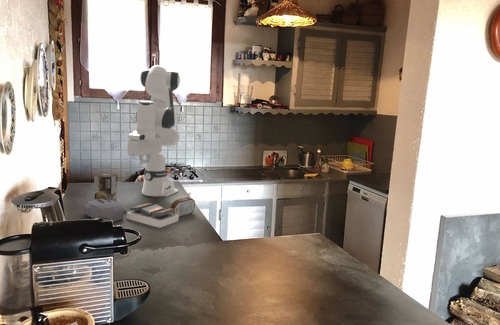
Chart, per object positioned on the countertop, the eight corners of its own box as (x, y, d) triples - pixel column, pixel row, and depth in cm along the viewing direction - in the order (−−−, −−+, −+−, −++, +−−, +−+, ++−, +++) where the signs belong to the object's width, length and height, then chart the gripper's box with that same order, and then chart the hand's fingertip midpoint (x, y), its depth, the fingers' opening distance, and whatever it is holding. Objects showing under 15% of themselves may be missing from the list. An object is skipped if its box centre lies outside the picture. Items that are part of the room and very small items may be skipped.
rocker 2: (156, 206, 195) (156, 203, 194) (163, 210, 193) (164, 207, 192) (141, 211, 186) (141, 208, 186) (149, 215, 184) (149, 212, 184)
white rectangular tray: (134, 209, 204) (134, 203, 204) (178, 220, 191) (178, 214, 191) (113, 215, 193) (114, 208, 192) (159, 227, 180) (159, 220, 179)
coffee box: (116, 205, 209) (117, 174, 206) (111, 208, 202) (111, 177, 200) (99, 203, 209) (100, 173, 207) (93, 207, 203) (93, 175, 200)
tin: (191, 211, 207) (192, 195, 206) (195, 213, 206) (196, 196, 204) (169, 217, 195) (170, 200, 194) (174, 219, 193) (174, 202, 192)
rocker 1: (145, 206, 198) (145, 203, 198) (153, 206, 195) (153, 202, 195) (130, 210, 189) (130, 207, 189) (138, 210, 187) (138, 207, 187)
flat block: (166, 211, 192) (166, 208, 192) (175, 211, 189) (174, 208, 189) (152, 216, 183) (151, 212, 183) (160, 216, 181) (160, 212, 181)
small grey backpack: (79, 214, 191) (99, 226, 177) (79, 197, 189) (99, 207, 176) (110, 209, 201) (130, 220, 188) (110, 193, 200) (131, 202, 186)
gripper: (155, 133, 206) (154, 160, 208) (125, 135, 188) (124, 164, 191) (165, 134, 203) (164, 162, 205) (135, 137, 185) (134, 166, 188)
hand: (145, 163), depth 198 cm, fingers closed
